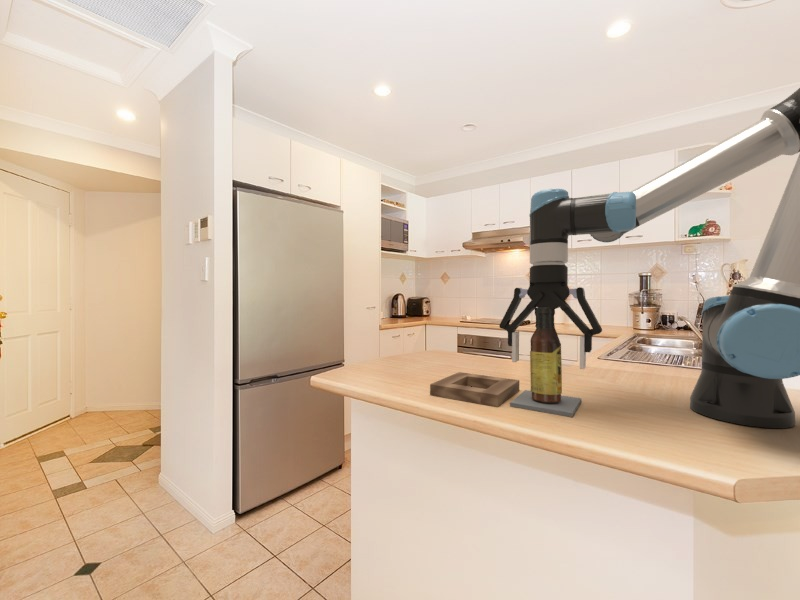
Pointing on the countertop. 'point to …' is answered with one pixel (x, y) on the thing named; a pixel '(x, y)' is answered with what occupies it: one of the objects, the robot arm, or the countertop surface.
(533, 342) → the sauce bottle
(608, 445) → the countertop surface
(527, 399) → the mat
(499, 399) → the caddy
